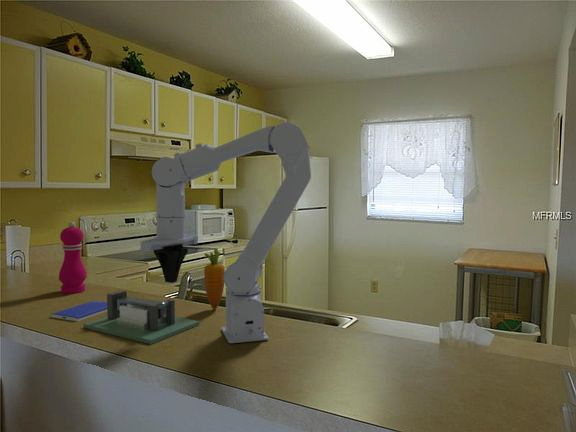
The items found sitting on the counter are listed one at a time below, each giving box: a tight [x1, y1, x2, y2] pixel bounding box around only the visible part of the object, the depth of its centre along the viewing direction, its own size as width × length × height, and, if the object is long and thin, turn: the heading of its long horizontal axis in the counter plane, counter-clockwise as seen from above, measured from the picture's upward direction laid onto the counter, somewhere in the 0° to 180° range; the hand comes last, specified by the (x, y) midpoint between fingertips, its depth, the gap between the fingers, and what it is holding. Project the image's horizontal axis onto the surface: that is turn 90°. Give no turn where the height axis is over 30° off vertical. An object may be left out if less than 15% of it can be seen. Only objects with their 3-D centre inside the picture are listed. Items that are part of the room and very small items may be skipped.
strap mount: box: [106, 289, 176, 331], centre depth 97 cm, size 15×6×6 cm, turn 61°
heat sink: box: [117, 304, 167, 332], centre depth 96 cm, size 8×8×4 cm
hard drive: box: [50, 300, 107, 322], centre depth 107 cm, size 2×8×12 cm
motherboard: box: [82, 316, 200, 345], centre depth 96 cm, size 20×14×1 cm
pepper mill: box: [58, 221, 88, 295], centre depth 127 cm, size 7×7×20 cm
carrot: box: [203, 248, 226, 310], centre depth 110 cm, size 5×5×15 cm
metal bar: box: [117, 295, 170, 310], centre depth 96 cm, size 13×3×3 cm, turn 61°
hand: (171, 281), depth 93 cm, fingers closed
